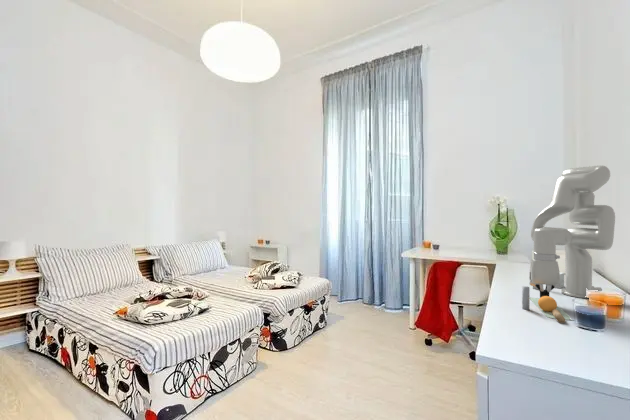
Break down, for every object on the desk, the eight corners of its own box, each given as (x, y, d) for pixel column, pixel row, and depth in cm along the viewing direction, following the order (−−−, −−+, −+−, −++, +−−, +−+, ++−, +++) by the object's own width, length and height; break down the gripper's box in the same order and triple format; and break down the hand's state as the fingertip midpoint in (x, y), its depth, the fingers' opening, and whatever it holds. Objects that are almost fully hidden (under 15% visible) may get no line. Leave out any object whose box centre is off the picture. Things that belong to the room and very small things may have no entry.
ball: (557, 314, 117) (556, 312, 122) (558, 298, 117) (556, 297, 122) (538, 310, 120) (537, 309, 125) (538, 295, 121) (537, 294, 126)
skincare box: (550, 284, 165) (550, 270, 165) (564, 286, 159) (564, 272, 159) (546, 286, 161) (546, 272, 161) (560, 288, 156) (560, 274, 156)
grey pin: (526, 307, 126) (526, 286, 126) (530, 309, 123) (530, 287, 123) (520, 307, 126) (520, 286, 126) (525, 309, 123) (525, 287, 123)
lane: (528, 297, 140) (528, 297, 140) (549, 299, 137) (549, 299, 137) (547, 317, 114) (547, 317, 114) (574, 320, 111) (574, 320, 111)
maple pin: (555, 307, 117) (561, 315, 109) (561, 313, 116) (567, 320, 108) (550, 311, 118) (555, 319, 110) (555, 316, 117) (561, 324, 109)
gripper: (562, 257, 132) (562, 299, 132) (521, 255, 137) (521, 296, 137) (569, 259, 125) (569, 304, 125) (525, 257, 130) (525, 300, 131)
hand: (544, 300), depth 131 cm, fingers closed
